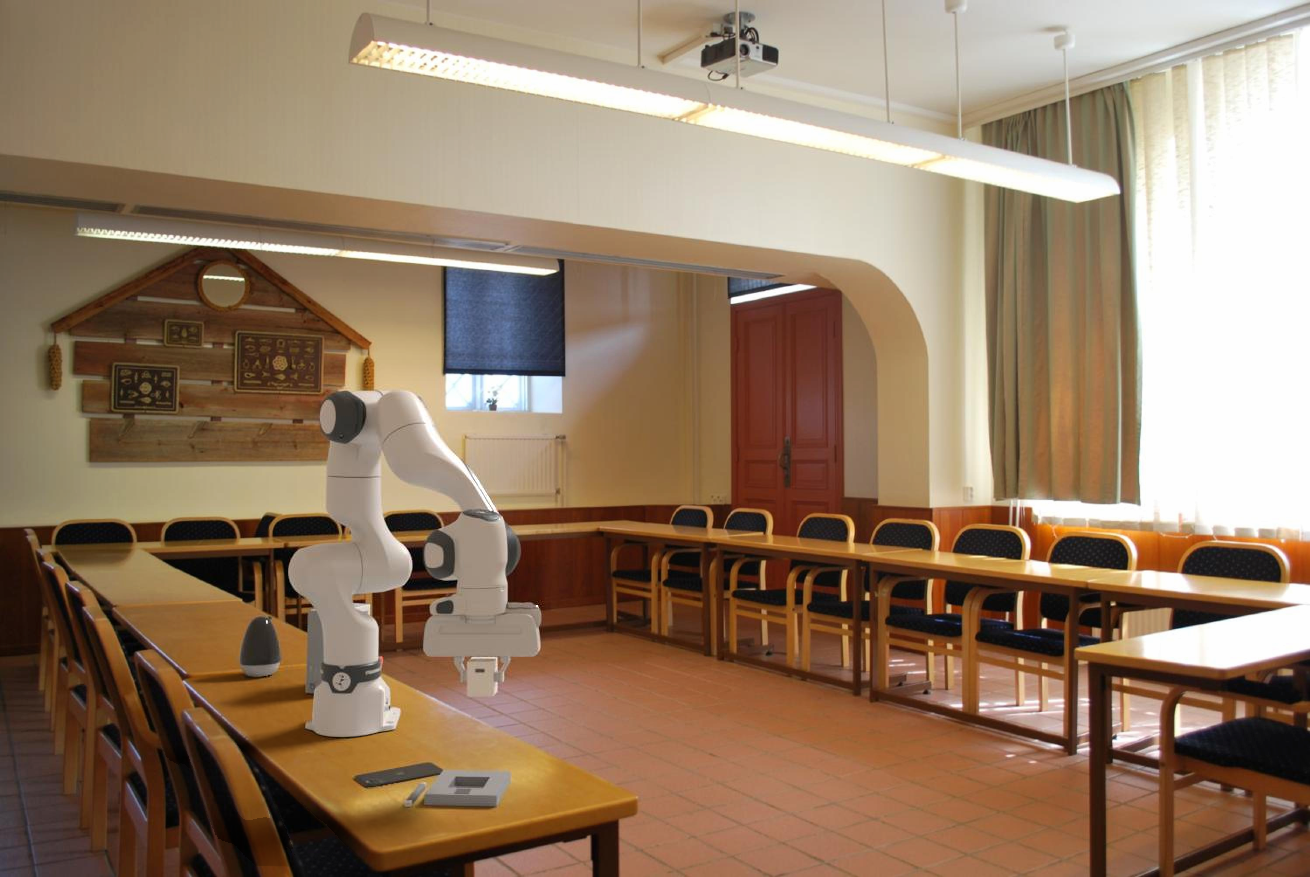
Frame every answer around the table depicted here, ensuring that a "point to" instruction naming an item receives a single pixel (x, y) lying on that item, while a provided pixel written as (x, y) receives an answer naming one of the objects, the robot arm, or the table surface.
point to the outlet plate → (468, 788)
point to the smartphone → (398, 774)
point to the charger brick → (481, 677)
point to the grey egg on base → (260, 648)
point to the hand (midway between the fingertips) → (482, 681)
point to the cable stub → (415, 795)
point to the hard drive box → (318, 647)
